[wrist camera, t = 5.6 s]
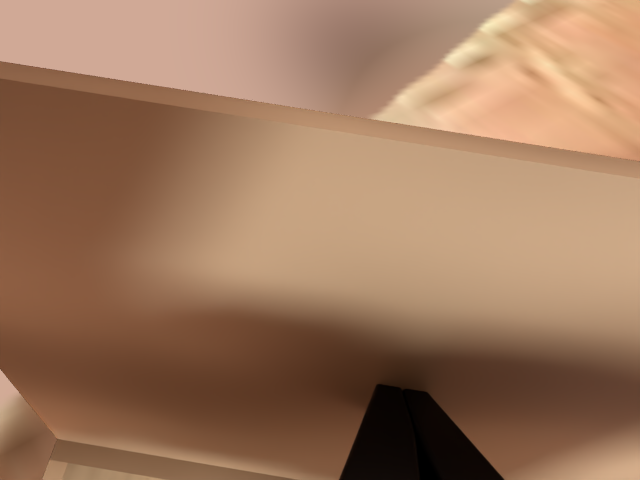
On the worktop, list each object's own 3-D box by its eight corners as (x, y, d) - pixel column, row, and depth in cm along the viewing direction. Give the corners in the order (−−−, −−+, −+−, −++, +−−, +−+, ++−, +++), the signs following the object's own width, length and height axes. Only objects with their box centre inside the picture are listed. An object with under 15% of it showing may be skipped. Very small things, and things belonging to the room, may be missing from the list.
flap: (1349, 290, 4) (1280, 261, 4) (-273, 35, 4) (-227, 25, 4) (650, 539, 10) (643, 521, 11) (57, 439, 11) (66, 424, 11)
